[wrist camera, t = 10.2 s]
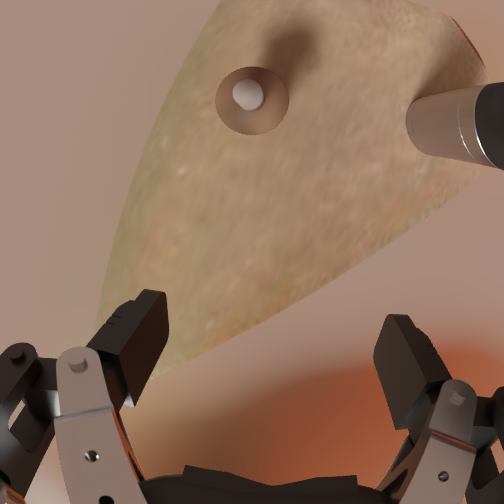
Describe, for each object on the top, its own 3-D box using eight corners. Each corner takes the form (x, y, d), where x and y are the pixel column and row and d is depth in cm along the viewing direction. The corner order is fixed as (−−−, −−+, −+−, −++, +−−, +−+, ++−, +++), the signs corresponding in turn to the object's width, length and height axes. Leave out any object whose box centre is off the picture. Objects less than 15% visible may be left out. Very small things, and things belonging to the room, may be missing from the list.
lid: (290, 70, 26) (292, 56, 21) (286, 137, 29) (288, 135, 24) (218, 68, 26) (207, 55, 21) (215, 134, 29) (203, 132, 24)
